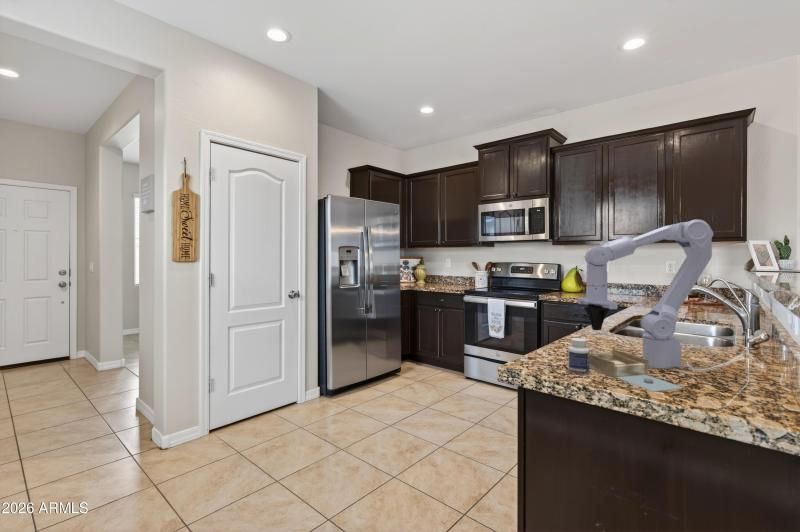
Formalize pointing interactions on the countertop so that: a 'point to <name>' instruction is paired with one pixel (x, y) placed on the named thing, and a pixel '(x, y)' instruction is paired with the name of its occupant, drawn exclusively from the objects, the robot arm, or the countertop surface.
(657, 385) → the lid
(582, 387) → the countertop surface
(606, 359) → the box
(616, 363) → the soap bar
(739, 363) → the countertop surface
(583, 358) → the pill bottle
